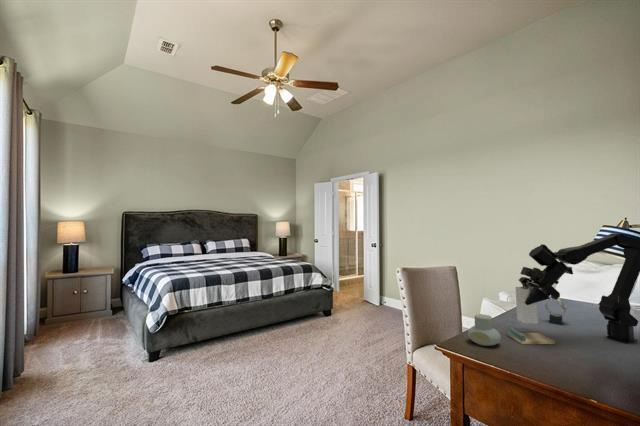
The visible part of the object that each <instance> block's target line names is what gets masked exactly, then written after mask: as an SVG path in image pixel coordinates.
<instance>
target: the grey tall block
mask: <svg viewBox="0 0 640 426" xmlns="http://www.w3.org/2000/svg"><path fill="white" fill-rule="evenodd" d="M532 293H533V288H530V287H528V286H523V285H522V286H515V302H516V318H517V319H516V320H517V321H519V322H521V323H523V324H537V325H538V324H539V319H538V305H537V303H538V302H536V303H533V304H530V305H526V304H525V302H526V301H527V299H528V298H529V297H530V296H531V294H532Z"/></svg>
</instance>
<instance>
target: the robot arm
mask: <svg viewBox="0 0 640 426" xmlns="http://www.w3.org/2000/svg"><path fill="white" fill-rule="evenodd" d="M616 246H617V247H618V248H621V249H623V252H622V253H623V257H624V262H623V264H622V267H621V270H620V271H619V274H618V276H617V278H616V282H615V284H614V286H613V289H612V291H611V293H610V294H609V295H602V296H601V297H600V301H599V302H598V304H597V305H598V306H599V307H598V311H599V312H600V313H601V314H602V316H603V318H604V320H605V321H607V324H606V333H607V335H606V336H605V337H606V339H611V340H615V341H618V342H622V343H626V344H630V343H634V342H637V341H638V339H636V338H635V329H634V327H637V326H638V325H639V320H638V319H637V318H636V317H635V316H633V314H631V309H632V307H631V303H630V297H631V296H632V295H631V294H632V292H633V289H634V288H635V285H636V282H637V279H638V278H639V275H640V238H637V237H634V236H630V235H626V234H624V233H622V232H621V233H620V232H619V233H618V232H614V233H613V232H611V233H609V234H607V235H605V236H603V237H600V238H598V239H594V240H592V241H589V242H586V243H584V244H582V245H578V246H570V247H565V248H560V249H559V250H558V251H554V252H553V251H552V250H551V248H549V247H548V246H547V245H546V244H542V243H541V244H540V245H538V246H536V247H534V248H533V249H531V250H530V251H529V252H528V256H529V257H530V258H531V259H532V260H534V262H536V263H537V264H538V265H540V267H542V266H545V268H543V270H541V269H540V268H538V267H533V268H530V267H527V266H522V269H521V272H520V275H521V276H520V278H519V279H518V282H519V283H520V285H522V286H528V287H530V288H533V293H532V294H531V296H530V297H529V298H528V299H527V301H526V302H525V304H526V305H530V304H533V303H536V302H537V303H539V302H542V301H546V300H547V299H549V300H555V301H557V299H560V298H561V293H560V291H558V290H557V289H556V288H555V287H554V286H553V285H558V284H559V283H560V281H558V280H560V279H561V277H562V276H563V275H564V274H569V275H573V274H574V271H573V267H572V266H567V265H573V266H575V265H579V264H580V263H582V262H584V261H585V260H586V259H587V258H588V257H590V256H591V255H594V254H597V253H599V252H602V251H604V250H607V249H610V248H612V247H616ZM566 264H567V265H566ZM522 275H524V276H522ZM526 276H527V277H526ZM550 298H552V299H550ZM547 301H548V300H547Z"/></svg>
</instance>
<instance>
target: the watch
mask: <svg viewBox="0 0 640 426" xmlns="http://www.w3.org/2000/svg"><path fill="white" fill-rule="evenodd" d="M549 298H550V299H547V300H544V301H545V302H544V308H545V310H546V312H547V313H548V314H549V316H548V317H549V324H553V325H560V326H562V325H563V322H564V321H563V320H564V319H563V316H564V315H565V313H566V312H567V310H568V308H567V306H566V304H565V303H564V301H563V300H562V299H561V298H558V299H557V300H556V302H557V305H558V306H559V307H560V308H561V309H562V310H563V313H561V314H557V313H553V312H552V311H551V310H550V308H549V306H548V304H547V301H549V300H553V299H552V298H551V297H549Z"/></svg>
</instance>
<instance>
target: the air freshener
mask: <svg viewBox="0 0 640 426" xmlns="http://www.w3.org/2000/svg"><path fill="white" fill-rule="evenodd" d="M493 326H494V325H493V317H492V316H491V315H489V314H482V313H477V314H475V315H474V325H472V327H470V328H468V330H467V336H468V338H469V339H470V340H471V341H472V342H474V343H476V344H477V345H479V346H483V347H493V346H495V345H497V344H499V343H500V342H501V339H502V336H501V334H500V332H499V330H497V329H495V328H494V327H493Z"/></svg>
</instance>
